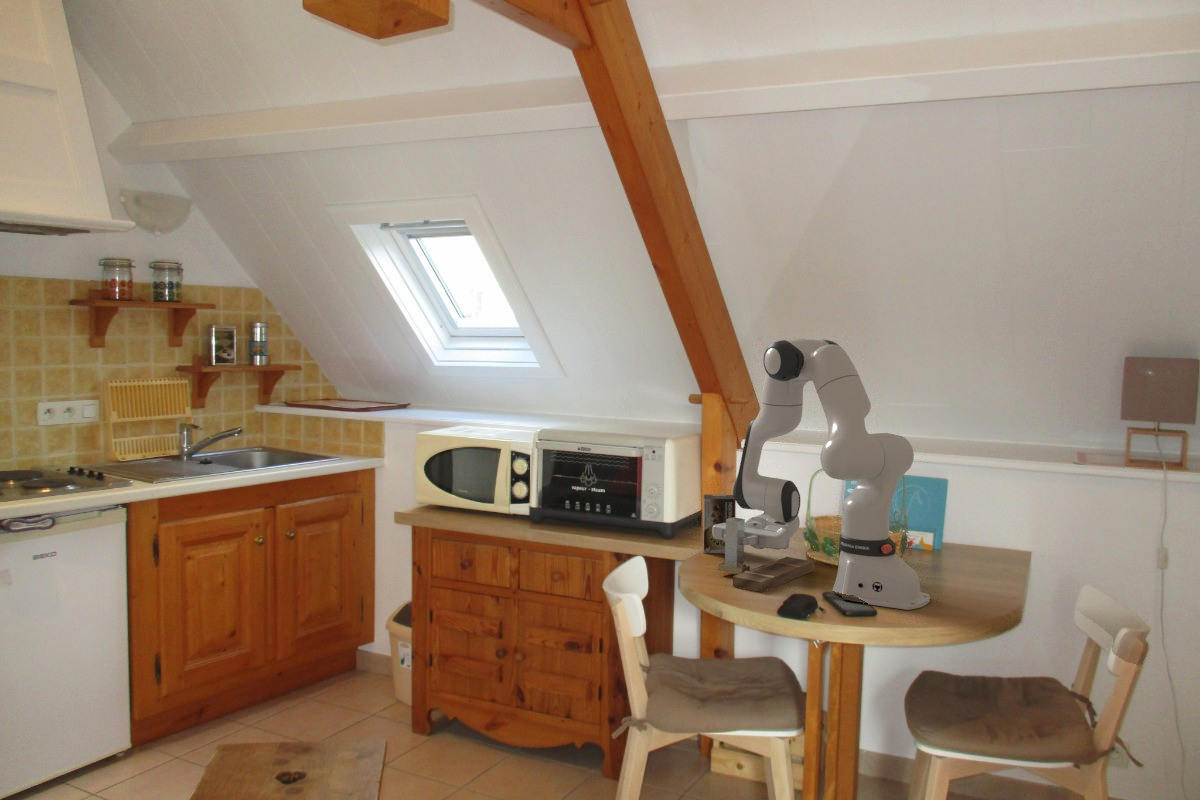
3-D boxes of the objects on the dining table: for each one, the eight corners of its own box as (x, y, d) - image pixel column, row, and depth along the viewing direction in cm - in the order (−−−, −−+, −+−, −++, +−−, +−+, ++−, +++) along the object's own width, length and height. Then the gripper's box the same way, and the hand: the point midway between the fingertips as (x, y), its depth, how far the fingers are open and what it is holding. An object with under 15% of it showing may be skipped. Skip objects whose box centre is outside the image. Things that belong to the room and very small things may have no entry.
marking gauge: (749, 571, 241) (751, 519, 240) (741, 574, 238) (743, 522, 237) (726, 566, 245) (727, 516, 244) (718, 569, 242) (719, 518, 241)
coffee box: (733, 549, 272) (735, 494, 271) (734, 554, 266) (736, 498, 264) (702, 548, 273) (703, 493, 272) (702, 553, 266) (703, 497, 265)
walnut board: (813, 570, 248) (813, 561, 248) (761, 592, 226) (761, 581, 226) (786, 565, 253) (786, 556, 253) (732, 586, 232) (732, 575, 231)
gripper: (727, 515, 258) (700, 522, 247) (794, 525, 245) (769, 534, 234) (727, 537, 258) (700, 546, 247) (794, 549, 245) (768, 558, 235)
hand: (734, 540), depth 241 cm, fingers closed on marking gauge, 3 cm apart
